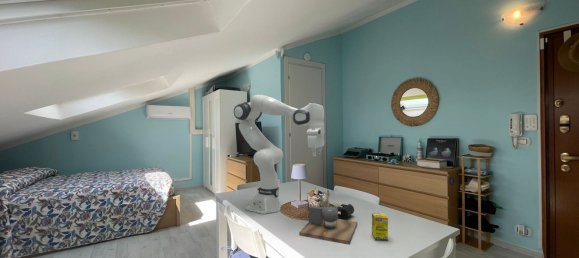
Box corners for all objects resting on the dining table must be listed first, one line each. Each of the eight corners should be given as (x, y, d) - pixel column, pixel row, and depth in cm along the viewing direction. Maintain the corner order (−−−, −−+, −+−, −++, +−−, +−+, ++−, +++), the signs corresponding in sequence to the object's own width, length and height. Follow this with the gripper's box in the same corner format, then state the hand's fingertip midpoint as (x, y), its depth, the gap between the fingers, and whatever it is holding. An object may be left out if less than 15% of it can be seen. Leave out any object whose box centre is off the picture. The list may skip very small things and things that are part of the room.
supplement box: (375, 240, 113) (375, 217, 113) (371, 235, 119) (371, 212, 119) (388, 241, 113) (388, 217, 113) (384, 235, 119) (384, 212, 119)
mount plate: (299, 235, 120) (299, 223, 120) (314, 218, 142) (314, 208, 142) (349, 244, 110) (349, 232, 110) (357, 224, 132) (357, 214, 132)
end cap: (347, 221, 136) (347, 209, 136) (335, 218, 141) (335, 207, 141) (354, 216, 145) (354, 204, 144) (343, 213, 149) (343, 202, 149)
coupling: (339, 223, 128) (339, 207, 128) (335, 229, 121) (335, 212, 120) (311, 218, 134) (311, 203, 134) (306, 224, 127) (306, 208, 126)
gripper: (316, 130, 150) (317, 153, 150) (305, 131, 131) (305, 157, 131) (326, 130, 148) (327, 153, 148) (316, 131, 129) (317, 157, 129)
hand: (317, 155), depth 139 cm, fingers open, 8 cm apart
